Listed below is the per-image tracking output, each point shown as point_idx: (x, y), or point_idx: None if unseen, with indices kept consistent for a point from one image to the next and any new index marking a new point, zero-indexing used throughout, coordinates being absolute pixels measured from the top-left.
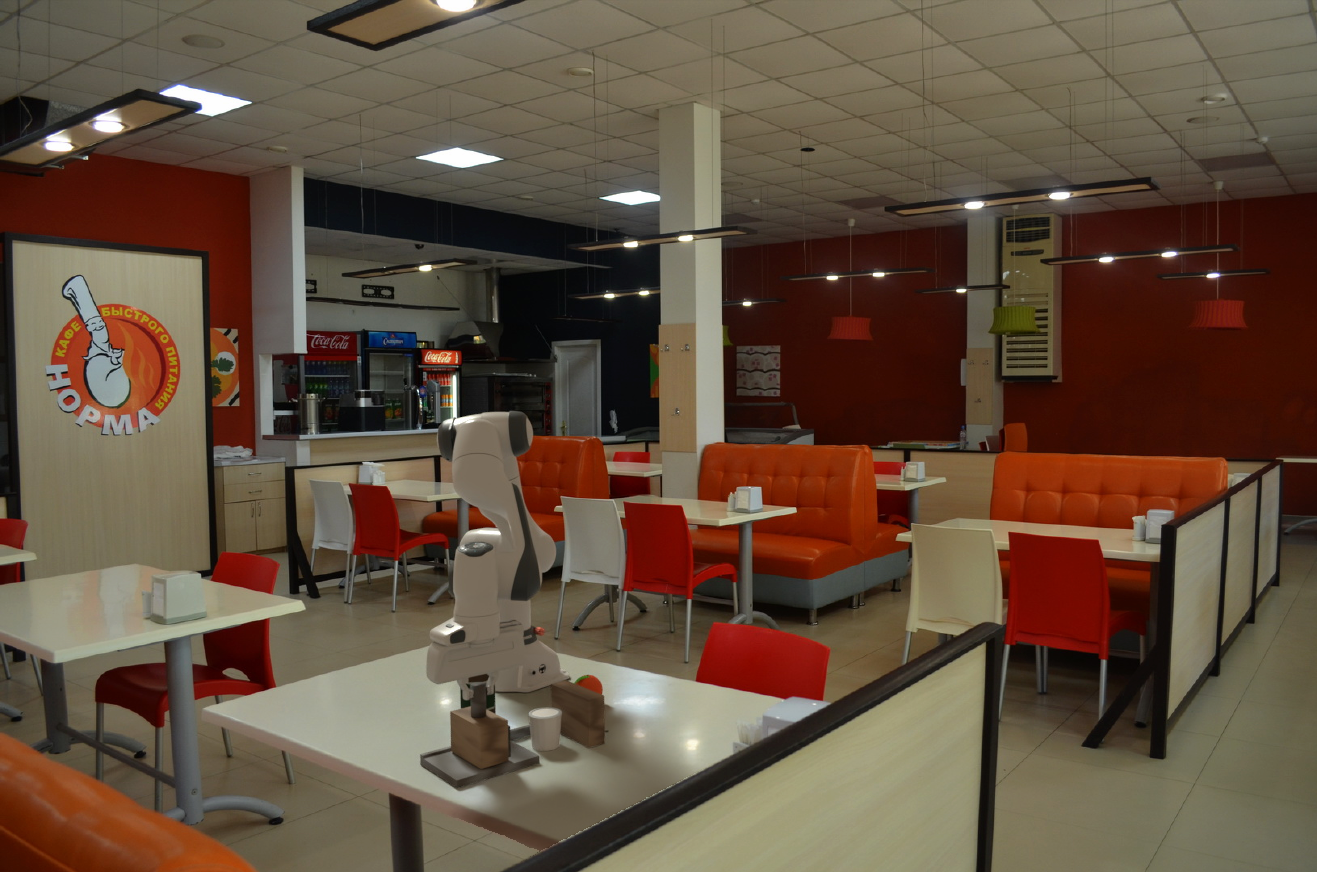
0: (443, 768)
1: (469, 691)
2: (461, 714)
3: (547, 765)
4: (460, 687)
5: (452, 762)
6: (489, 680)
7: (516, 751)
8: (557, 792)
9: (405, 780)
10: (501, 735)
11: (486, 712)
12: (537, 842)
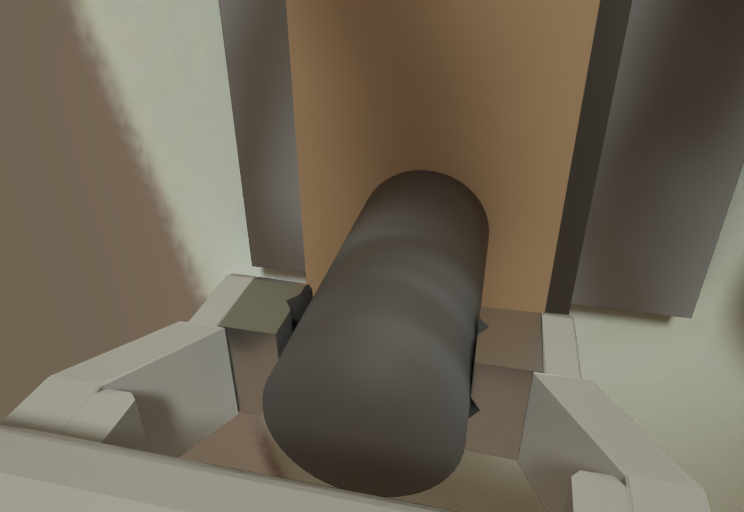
0: (251, 118)
1: (236, 408)
2: (328, 102)
3: (684, 336)
4: (145, 338)
5: None
6: (560, 450)
7: (658, 197)
8: (516, 495)
9: (110, 23)
10: None
11: (518, 215)
12: None
